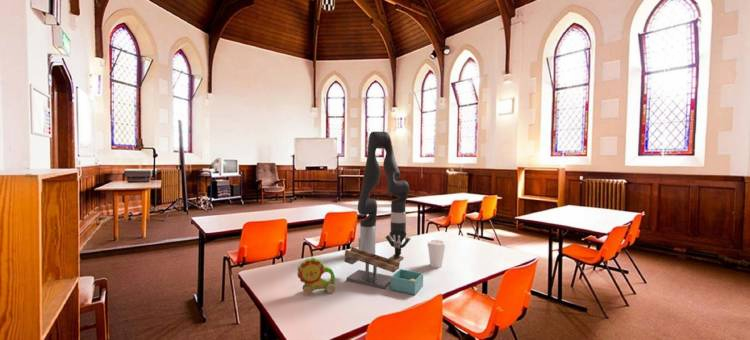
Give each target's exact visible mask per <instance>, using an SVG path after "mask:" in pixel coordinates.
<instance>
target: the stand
mask: <svg viewBox="0 0 750 340" xmlns="http://www.w3.org/2000/svg"><path fill="white" fill-rule="evenodd" d="M372 266H373V265H372ZM364 267H365V270H362V269H357V270H356V271H354V272H353V273H351V274H350V275H348V276H347V277H346V278H345V279H346V282H349V281H350V283H355V284H360V285H362V286H363V285H364V286H369V287H372V288H378V289H382V290H386V289H387V288H388V287H389V286H391V277H392V276H393V275H387V274H383V273H378V271H377V268H378V267H376V266H373V268H372V270H373V271H370V264H369V262H366V263H365V266H364Z"/></svg>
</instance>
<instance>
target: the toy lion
mask: <svg viewBox="0 0 750 340" xmlns="http://www.w3.org/2000/svg"><path fill="white" fill-rule="evenodd" d="M325 273H328V274H329V275H330V280H328V281H327V280H326V279H324V278H323V277H322V276H323V274H325ZM297 278H298V279H299V281H300V282H301V283H304V284H303V285H302V290H303V291H302V292H303V295H304V296H306V295H309V294H311V295H312V294H313V292H314V291H316V290H326V292H327V293H328V294H333V293H334V292H335V291H336V286H335V281H336V280H335V279H336V277H335V272H334V271H333V270H332V268H331V267H329V266H325V265H324V264H323V262H321V260H320V259H318V258H316V257H311V258H306V259H305V260H303V261H301V262H300V265H299V266H297ZM309 296H310V295H309Z"/></svg>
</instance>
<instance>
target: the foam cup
mask: <svg viewBox="0 0 750 340" xmlns="http://www.w3.org/2000/svg"><path fill="white" fill-rule="evenodd" d="M427 248H428V255H429V256H428V259H429V266H430V267H431V268H437V269H439V268H442V267H443V263H444V256H445V250H446V249H445V248H446V242H445V241H444V240H440V239H429V240H428V241H427Z"/></svg>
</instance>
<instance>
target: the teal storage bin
mask: <svg viewBox="0 0 750 340" xmlns="http://www.w3.org/2000/svg"><path fill="white" fill-rule="evenodd" d="M391 276H392V277H391V284H390V291H391V292H398V293H402V294H406V295H407V294H408V295H411V296H416V295H417V294H418V292H420V290H421V289H422V288H423V286H424V272H418V271H414V270H413V271H412V270H409V269H408V270H407V269H404V268H403V269H402V268H399V269H398V270H397V272H396V271H395V272H394V274H393V275H391ZM410 279H415V281H412V280H410Z"/></svg>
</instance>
